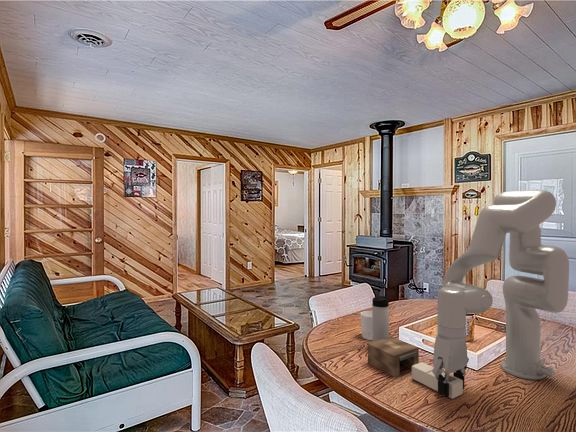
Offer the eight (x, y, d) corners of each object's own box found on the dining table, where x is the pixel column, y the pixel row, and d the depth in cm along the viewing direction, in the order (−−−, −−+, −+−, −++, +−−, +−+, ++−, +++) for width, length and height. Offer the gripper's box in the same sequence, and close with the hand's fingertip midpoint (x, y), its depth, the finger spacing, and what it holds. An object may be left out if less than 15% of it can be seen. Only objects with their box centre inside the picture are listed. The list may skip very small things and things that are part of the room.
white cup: (359, 339, 144) (358, 315, 144) (362, 332, 151) (362, 310, 151) (378, 341, 141) (378, 317, 141) (380, 335, 148) (380, 312, 148)
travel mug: (390, 351, 132) (390, 299, 131) (372, 350, 133) (372, 298, 133) (389, 344, 138) (389, 295, 137) (372, 343, 139) (371, 294, 139)
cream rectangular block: (462, 393, 101) (462, 379, 101) (452, 398, 98) (452, 384, 98) (421, 374, 113) (421, 361, 113) (411, 378, 110) (411, 365, 110)
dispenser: (420, 368, 118) (420, 347, 117) (396, 378, 111) (395, 356, 111) (391, 355, 129) (391, 336, 128) (367, 363, 122) (367, 343, 122)
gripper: (457, 321, 109) (456, 377, 109) (421, 332, 100) (421, 393, 100) (480, 328, 102) (480, 388, 103) (444, 341, 93) (444, 406, 94)
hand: (451, 390), depth 101 cm, fingers open, 6 cm apart
